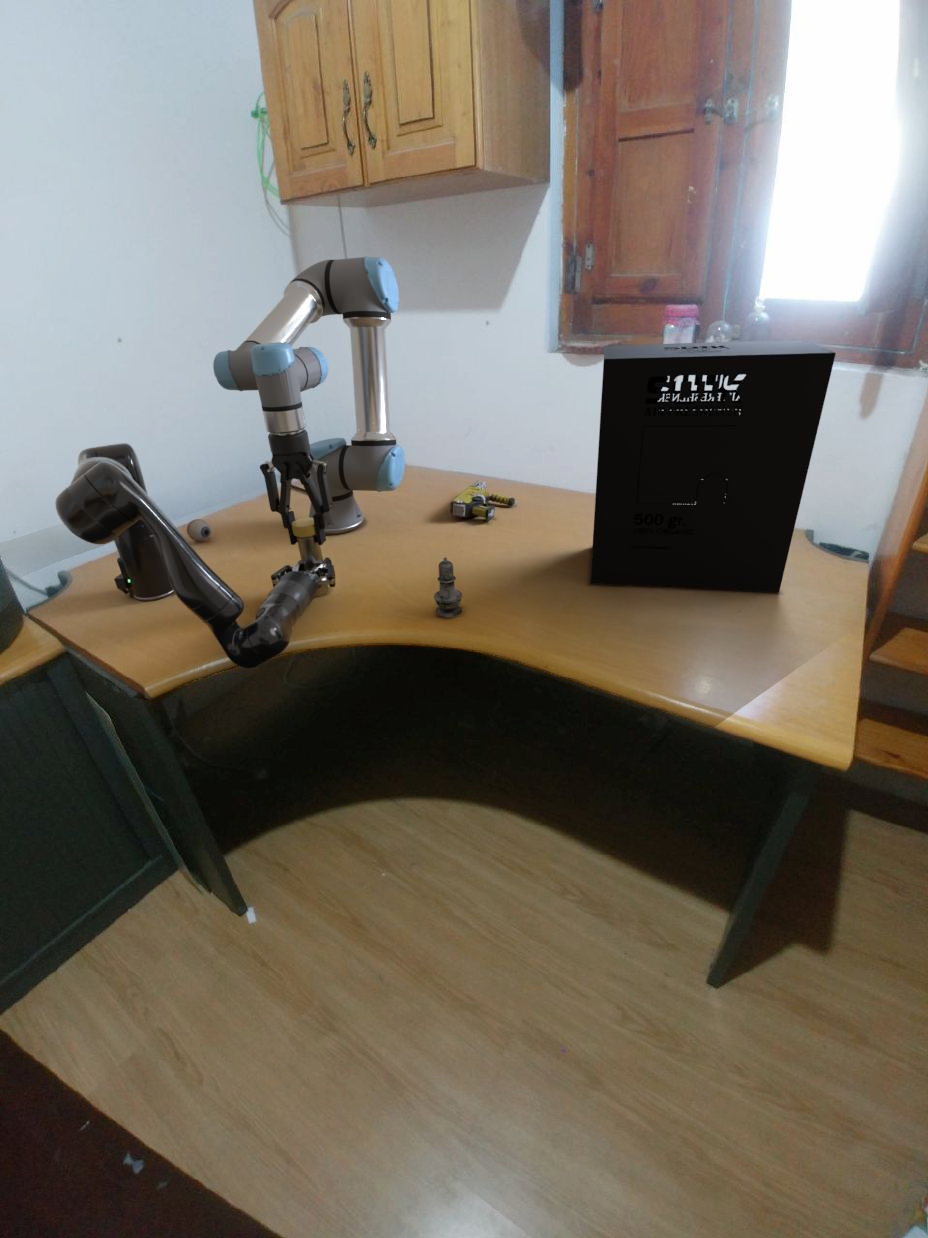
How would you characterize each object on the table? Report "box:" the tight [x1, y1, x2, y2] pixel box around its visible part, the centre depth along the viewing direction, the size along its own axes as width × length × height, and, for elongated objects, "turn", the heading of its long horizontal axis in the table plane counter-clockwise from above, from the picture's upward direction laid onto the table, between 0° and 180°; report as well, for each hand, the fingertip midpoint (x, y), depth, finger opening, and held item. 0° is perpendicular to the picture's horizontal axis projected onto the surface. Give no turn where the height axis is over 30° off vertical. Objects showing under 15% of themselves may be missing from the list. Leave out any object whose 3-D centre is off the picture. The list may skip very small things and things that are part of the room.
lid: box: [292, 516, 316, 537], centre depth 126 cm, size 6×5×2 cm
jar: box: [297, 534, 329, 598], centre depth 130 cm, size 4×4×16 cm
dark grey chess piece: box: [433, 556, 463, 618], centre depth 120 cm, size 6×6×12 cm
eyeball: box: [186, 518, 212, 542], centre depth 162 cm, size 6×6×6 cm
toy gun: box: [449, 480, 516, 522], centre depth 174 cm, size 5×24×15 cm
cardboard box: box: [590, 338, 837, 594], centre depth 124 cm, size 38×20×45 cm, turn 78°
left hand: (317, 561), depth 133 cm, fingers closed on jar, 4 cm apart
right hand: (308, 542), depth 128 cm, fingers closed on lid, 5 cm apart
